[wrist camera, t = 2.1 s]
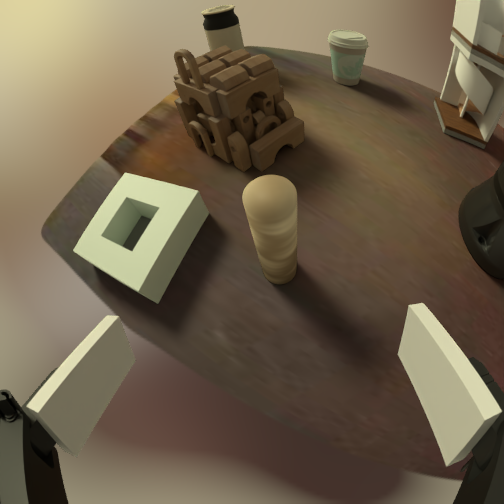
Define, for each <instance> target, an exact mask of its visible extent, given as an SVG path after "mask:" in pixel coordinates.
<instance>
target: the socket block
mask: <svg viewBox="0 0 504 504" xmlns="http://www.w3.org/2000/svg"><path fill="white" fill-rule="evenodd" d="M208 214H209V212H208V210H207V208H206V206H205V204H204V202H203V200H202V197H201V195H200V193H199V191H197V190H193V189H189V188H185V187H181V186H177V185H174V184H170V183H166V182H162V181H158V180H154V179H150V178H145V177H141V176H137V175H133V174H129V173H125V174H124V175H123V176H122V178H121V179H120V180H119V182H118V183H117V184H116V186H115V187H114V188H113V190H112V191H111V193H110V194H109V195H108V197H107V198H106V200H105V201H104V203H103V204H102V205H101V207H100V208H99V210H98V211H97V213H96V214H95V216H94V217H93V219H92V220H91V222H90V224H89V225H88V227H87V228H86V230H85V232H84V233H83V235H82V236H81V238H80V240H79V241H78V243H77V245H76V247H75V248H74V250H73V251H74V252H76V253H77V254H78V255H80V256H81V257H82V258H84V259H85V260H87V261H88V262H89V263H91V264H92V265H94V266H95V267H97V268H98V269H100V270H102V271H103V272H105V273H106V274H108V275H110V276H111V277H113V278H114V279H116V280H118V281H119V282H121V283H123V284H124V285H126V286H128V287H129V288H131V289H133V290H134V291H136V292H138V293H140V294H141V295H143V296H145V297H147V298H148V299H150V300H152V301H154V302H155V303H157V304H158V303H159V301H160V300H161V298H162V296H163V294H164V292H165V290H166V288H167V286H168V285H169V283H170V281H171V279H172V277H173V275H174V274H175V272H176V270H177V268H178V266H179V264H180V263H181V261H182V259H183V257H184V256H185V254H186V252H187V250H188V248H189V247H190V245H191V243H192V242H193V240H194V238H195V236H196V235H197V233H198V231H199V229H200V228H201V226H202V224H203V223H204V221H205V219H206V218H207V216H208Z"/></svg>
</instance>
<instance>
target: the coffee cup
mask: <svg viewBox="0 0 504 504" xmlns="http://www.w3.org/2000/svg"><path fill="white" fill-rule="evenodd" d="M328 41H329V44H330V51H331V60H332V69H333V78H334V80H335V81H336V82H337V83H340V84H343V85H348V86H353V85H357V84H358V83H359V79H360V75H361V71H362V66H363V62H364V57H365V53H366V49H367V48H368V42H367V39H366V37H365V36H364V35H363V34H360V33H358V32H354V31H349V30H333V31H331V32H330V35H329V37H328Z"/></svg>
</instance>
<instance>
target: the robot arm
mask: <svg viewBox="0 0 504 504" xmlns="http://www.w3.org/2000/svg"><path fill="white" fill-rule="evenodd" d="M459 225H460V229H461V233H462V236H463V239H464V241H465V244H466V246H467V248H468V250H469V251H470V253H471V255H472V256H473V258H474V259H475V260H476V262H477V263H478V264H479V265H480V266H481V267H482V268H483V269H484V270H485V271H486V272H487V273H489V274H490V275H492V276H494V277H496V278H499V279H504V161H503V162H502V164H501V165H500V167H499V168H498V170H497V171H496V173H495V174H494V176H492V177H491V178H489V179H488V180H486V181H485V182H483V183H482V184H480V185H479V186H477V187H475V188H473V189H471V190H470V191H469V192H468V194H467V195H466V197H465V198H464V199H463V201H462V203H461V205H460V208H459ZM398 356H399V358H400V359H401V361H402V363H403V365H404V368H405V370H406V372H407V374H408V376H409V378H410V380H411V382H412V384H413V386H414V388H415V391H416V393H417V395H418V397H419V399H420V401H421V404H422V406H423V408H424V411H425V413H426V415H427V418H428V420H429V422H430V425H431V427H432V430H433V432H434V434H435V437H436V440H437V442H438V445H439V447H440V450H441V453H442V455H443V458H444V461H445V464H446V467H447V466H449V465H451V464H454V463H456V462H458V461H460V460H462V459H464V458H465V457H466V456H467V455H468V454H469V452H470V451H471V450H472V453H473V455H474V456H473V457H472V458H471V459H470V460H469V461H468V462H467V463H466V464H465V465H464V466H463V468H462V469H461V472H463V471H464V470H465V469H466V468H467V467H468V468H467V471H466V474H465V477H464V479H463V482H462V484H461V487H460V489H459V491H458V494H457V496H456V498H455V500H454V502H453V504H504V393H503V392H502V390H501V389H500V387H499V386H498V384H497V383H496V382H494V379H493V377H492V376H491V374H490V375H489V372H488V370H487V369H486V368H485V366H484V365H483V364H482V363H481V362H479V361H478V360H477V359H475V358H474V357H472V358H469V359H467V358H466V356H465V355H464V353H463V352H462V351H461V349H460V348H459V347H458V346H457V344H456V343H455V342H454V340H453V339H452V338H451V336H450V335H449V334H448V333H447V331H446V330H445V329H444V328H443V326H442V325H441V324H440V323H439V321H438V320H437V319H436V318H435V317H434V315H433V314H432V313H431V312H430V311H429V309H428V308H427V307H426V306H425V305H424V304H423V303H420V304H413V305H409V307H408V312H407V317H406V322H405V326H404V331H403V335H402V339H401V343H400V347H399V351H398ZM135 361H136V360H135V357H134V355H133V352H132V350H131V347H130V345H129V342H128V339H127V337H126V334H125V331H124V329H123V326H122V323H121V320H120V317H119V316H109V315H107V316H106V317H105V318H104V319H103V320H102V321H101V322H100V323H99V324H98V325H97V326H96V327H95V328H94V330H93V331H92V332H91V333H90V334H89V335H88V336H87V337H86V338H85V339H84V340H83V342H81V343H80V345H79V346H78V347H77V348H76V349H75V350H74V351H73V352H72V353H71V354H70V356H69V357H68V358H67V359H66V360H65V361H64V362H63V364H61V366H59V367H58V368H56V369H55V370H53V371H52V372H51V373H50V374H49V375H48V376H47V378H46V380H44V381H43V382H42V383H41V386H39V387H38V388H37V389H36V390H35V392H34V393H33V394H32V395H31V397H30V398H29V399H28V400H27V401H26V403H25V404H24V405H23V406H22V407H20V405H19V404H18V403H17V401H16V400H15V399H14V397H13V396H12V394H11V393H10V391H8V390H0V504H68V500H67V496H66V493H65V489H64V484H63V479H62V475H61V470H60V464H59V458H58V452H57V450H56V448H55V447H54V445H55V444H56V443H57V444H58V445H59V446H60V447H61V448H62V449H63V450H64V451H65V452H67V453H69V454H71V455H73V456H75V457H77V456H78V454H79V453H80V451H81V449H82V447H83V446H84V444H85V442H86V441H87V439H88V437H89V435H90V434H91V432H92V430H93V429H94V427H95V425H96V423H97V422H98V420H99V419H100V417H101V415H102V414H103V412H104V410H105V409H106V407H107V405H108V404H109V402H110V400H111V399H112V397H113V396H114V394H115V392H116V391H117V389H118V388H119V386H120V384H121V383H122V381H123V380H124V378H125V376H126V375H127V373H128V372H129V370H130V369H131V367H132V366H133V364H134V362H135Z"/></svg>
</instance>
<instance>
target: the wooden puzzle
mask: <svg viewBox="0 0 504 504" xmlns="http://www.w3.org/2000/svg"><path fill="white" fill-rule="evenodd" d="M182 57H184V58H185V59H186V61H187V63H185V64H184V61H183V59H182ZM174 58H175V62H176V65H177V68H178V74H176V75H174V79H175V81H174V82H175V85H176V88H177V90H178V93H179V96H180V98H178V99H176V100H175V103H176V106H177V108H178V111H179V113H180V116H181V118H182V121H183V123H184V126H185V128H186V130H187V133H188V135H189V136H190V137H192V138H193V140H194V143H195V145H196V147H198V148H199V147H201V146H202V142H203V143H204V145H205V148H206V150H207V153H208V155H209V156H210V157H212V156H213V155H214V154H216V155H217V156H219V157H220V158H222V159H223V160H224V161H226V162H227V163H230V162H231V161H234V165H235V166H236V167H237V168H238V169H240V170H241V171H243V172H244V171H246V170H247V169H248V168H250V167H251V166H252V163H253V166H254V167H256V168H257V169H259V170H260V171H264V170H265V169H266V168H268V167H269V166H270V165H272V164H273V163H274V161H275V156H276V154H277V152H278V151H279V149H280V148H281V147H282V146H283V145H286V144H287V145H289V146H290V147H292V148H295V147H296V146H298V145H299V144H300V143H302V142H303V141H304V121H302V120H300V119H298V118H296V117H294V112H293V109H292V107H291V105H290V104H289V102H288V101H286V100H284V94H283V86H282V85H279V76H278V69H276V68H274V64H273V62H272V60H271V59H270V58H269V57H268V56H266V55H265V54H260V55H256V56H254V57H251V56H250V54H249V53H248V52H247V51H245V50H244V49H240V50H237V51H234V52H232V50H231V49H230V48H228V47H227V46H222V47H219V48H217V49H215V50H212V51H210V52H208V53H206V54H204V55H202V56H199V57H197V58H194V56H193V55H192V54H191V52H189V51H188V50H185V49H180V50H178V51H176V52H175V54H174ZM212 135H213V136H214V139H215V142H214V143H212V144H211V141H210V139H209V137H211V136H212ZM250 155H251V159H252V163H251V159H250Z"/></svg>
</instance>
